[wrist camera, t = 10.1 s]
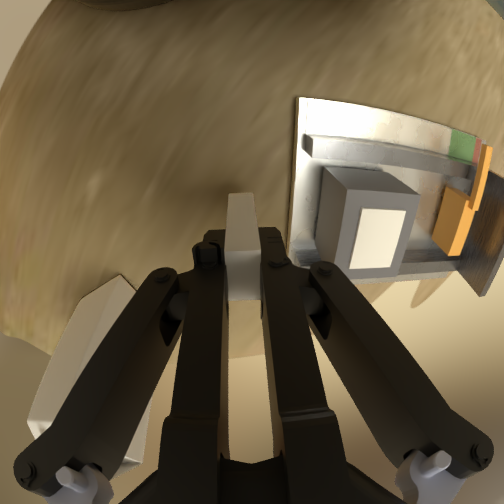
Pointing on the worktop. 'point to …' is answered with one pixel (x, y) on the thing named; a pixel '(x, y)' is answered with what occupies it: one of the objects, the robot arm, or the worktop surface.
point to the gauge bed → (406, 170)
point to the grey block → (364, 221)
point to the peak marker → (460, 209)
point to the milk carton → (85, 362)
